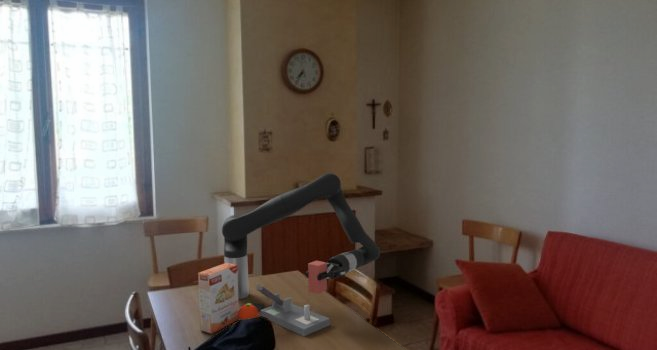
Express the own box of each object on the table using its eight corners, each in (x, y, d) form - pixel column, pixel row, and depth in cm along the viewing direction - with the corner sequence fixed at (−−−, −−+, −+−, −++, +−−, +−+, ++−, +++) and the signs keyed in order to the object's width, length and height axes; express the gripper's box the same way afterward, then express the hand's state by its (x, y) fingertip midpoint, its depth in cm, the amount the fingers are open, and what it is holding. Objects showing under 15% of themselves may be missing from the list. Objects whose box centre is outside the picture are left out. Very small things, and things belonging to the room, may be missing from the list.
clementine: (241, 318, 180) (241, 299, 179) (260, 318, 179) (259, 299, 179) (237, 327, 172) (236, 308, 171) (256, 327, 171) (256, 308, 171)
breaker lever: (278, 305, 183) (254, 288, 174) (280, 301, 183) (257, 284, 175) (285, 308, 180) (261, 291, 171) (288, 304, 180) (264, 286, 172)
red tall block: (308, 291, 173) (308, 263, 172) (317, 287, 176) (316, 260, 175) (318, 294, 170) (318, 266, 169) (327, 290, 174) (326, 262, 172)
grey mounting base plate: (260, 316, 181) (259, 296, 180) (285, 307, 189) (285, 288, 188) (304, 336, 164) (303, 314, 163) (329, 325, 172) (329, 304, 171)
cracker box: (212, 335, 166) (209, 275, 164) (199, 331, 169) (196, 272, 167) (240, 320, 178) (238, 264, 176) (228, 316, 181) (225, 261, 179)
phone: (229, 317, 179) (248, 302, 193) (229, 320, 179) (248, 304, 194) (247, 320, 177) (266, 304, 191) (248, 322, 177) (266, 306, 191)
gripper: (327, 251, 187) (296, 262, 174) (357, 257, 179) (328, 269, 165) (327, 270, 188) (297, 282, 175) (357, 277, 179) (328, 291, 166)
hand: (312, 276), depth 170 cm, fingers closed on red tall block, 4 cm apart
